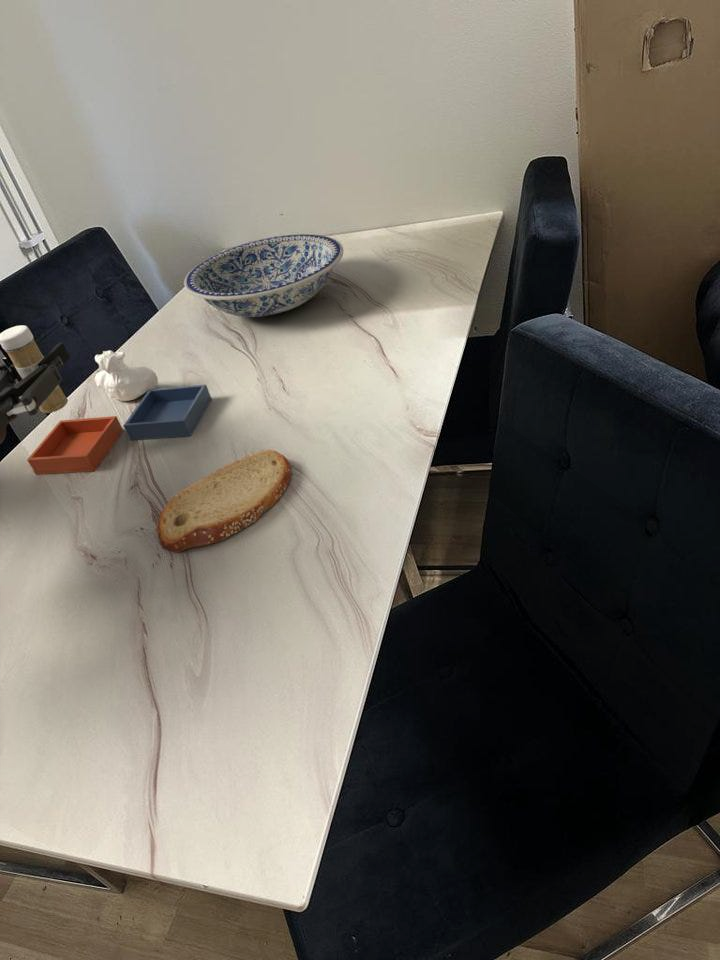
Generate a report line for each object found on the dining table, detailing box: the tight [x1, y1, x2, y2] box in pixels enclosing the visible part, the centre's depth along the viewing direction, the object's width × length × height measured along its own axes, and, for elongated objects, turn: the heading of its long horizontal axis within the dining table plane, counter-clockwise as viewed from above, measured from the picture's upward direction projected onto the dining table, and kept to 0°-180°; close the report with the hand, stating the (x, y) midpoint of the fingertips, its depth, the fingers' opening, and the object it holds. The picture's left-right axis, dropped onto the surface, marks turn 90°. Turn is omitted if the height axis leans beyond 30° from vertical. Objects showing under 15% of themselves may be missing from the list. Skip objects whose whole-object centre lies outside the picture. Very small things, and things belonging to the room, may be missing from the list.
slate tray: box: [122, 384, 212, 441], centre depth 115 cm, size 11×11×3 cm
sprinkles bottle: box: [0, 324, 69, 414], centre depth 103 cm, size 5×5×13 cm
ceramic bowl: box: [183, 233, 345, 318], centre depth 143 cm, size 34×34×10 cm
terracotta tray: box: [26, 415, 125, 475], centre depth 112 cm, size 11×11×3 cm
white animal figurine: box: [94, 350, 159, 402], centre depth 122 cm, size 12×8×11 cm
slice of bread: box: [156, 449, 293, 553], centre depth 93 cm, size 18×18×4 cm
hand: (50, 351), depth 107 cm, fingers closed on sprinkles bottle, 4 cm apart
